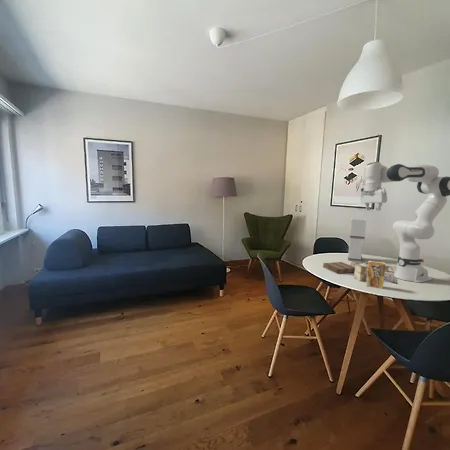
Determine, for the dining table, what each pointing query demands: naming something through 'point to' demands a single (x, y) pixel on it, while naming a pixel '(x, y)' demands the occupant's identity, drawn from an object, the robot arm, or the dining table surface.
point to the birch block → (360, 272)
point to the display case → (356, 239)
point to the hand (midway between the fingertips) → (373, 210)
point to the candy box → (375, 274)
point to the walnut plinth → (339, 267)
